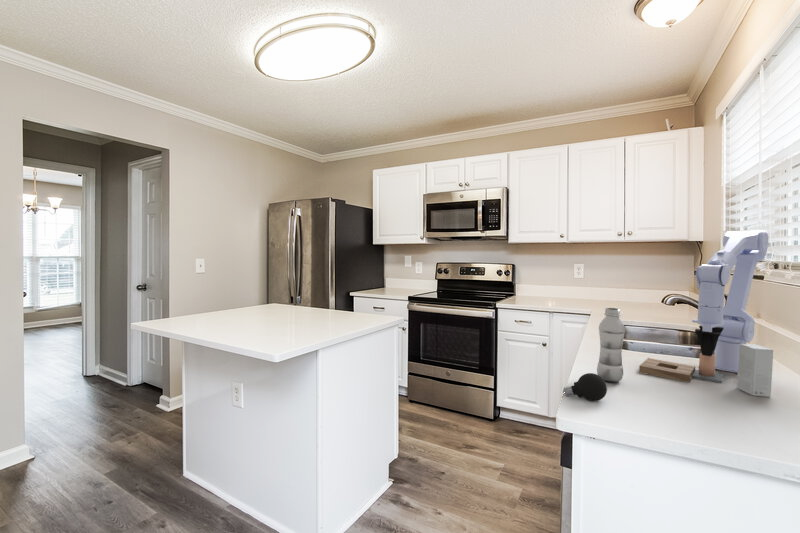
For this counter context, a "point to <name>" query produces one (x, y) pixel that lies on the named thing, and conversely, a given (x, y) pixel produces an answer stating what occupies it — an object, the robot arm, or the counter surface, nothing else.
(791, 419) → the counter surface
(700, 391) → the counter surface
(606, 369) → the plastic bottle
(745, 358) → the skincare box
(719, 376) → the rubber pad
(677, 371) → the walnut holder
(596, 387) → the light bulb
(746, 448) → the counter surface
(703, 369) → the peg
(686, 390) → the counter surface
